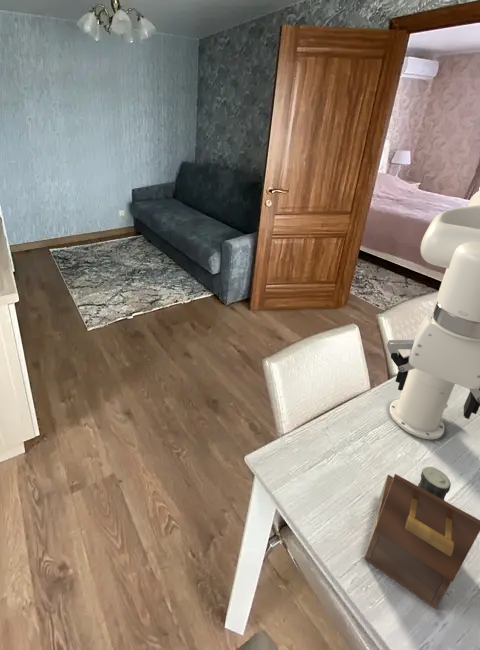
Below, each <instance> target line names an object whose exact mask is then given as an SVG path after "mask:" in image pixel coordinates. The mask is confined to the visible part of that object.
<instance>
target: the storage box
mask: <svg viewBox="0 0 480 650" xmlns="http://www.w3.org/2000/svg"><path fill="white" fill-rule="evenodd" d="M393 477H394V476H392V475H390V474H387V476H386V479H385V481H384V485H383V487H382V490H381V493H380V496H379V498H378V501H377V505H376V509H375V513H374V517H373V520H372V526H371V529H370V534H369V536H368V541H367V545H366V548H365V549H366V550H365V553H364V557H363V559H364V560H365V561H366V562H368V564H371V565H372V566H373V567H374V568H376V569H377V570H378V571H380V572H381V573H383V574H384V575H386V576H387V577H389V578H390V579H392V580H393V581H394V582H396V583H397V584H398V585H400V586H401V587H402V588H404V589H405V590H407V591H409V592H410V593H411V594H412V595H414V596H416V597H417V598H419V599H420V600H421V601H423V602H424V603H425V604H427V605H428V606H429V607H431V608H433V609H434V610H437V608H438V606H439V605H440V603H441V601H442V600H443V597H444V596H445V594H446V592H447V590H448V589H449V587H450V585H451V583H452V581H450V580H449V579H447V578H446V577H444V576H443V575H441V574H440V573H438V572H437V571H435V570H434V569H432V568H430V567H429V566H427V565H426V564H424V563H423V562H421V561H420V560H418V559H417V558H415V557H414V556H412V555H411V554H409V553H408V552H406V551H404V550H403V549H401V548H400V547H398V546H397V545H395V544H394V543H392V542H391V541H389V540H388V539H386V538H385V537H383V536H382V535H380V534H378V533H377V532H375V527H376V524H377V521H378V519H379V516H380V513H381V510H382V508H383V505H384V502H385V499H386V497H387V494H388V491H389V488H390V486H391V483H392V480H393Z"/></svg>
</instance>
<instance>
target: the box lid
mask: <svg viewBox="0 0 480 650" xmlns="http://www.w3.org/2000/svg"><path fill="white" fill-rule="evenodd" d="M392 477H393V480H392V483H391V486H390V488H389V491H388V494H387V497H386V499H385V502H384V505H383V508H382V510H381V513H380V516H379V519H378V521H377V524H376V527H375V532H377V533H378V534H380V535H382V536H383V537H385V538H386V539H388V540H389V541H391V542H392V543H394V544H395V545H397V546H398V547H400V548H401V549H403V550H404V551H406V552H408V553H409V554H411V555H412V556H414V557H415V558H417V559H418V560H420V561H421V562H423V563H424V564H426V565H427V566H429V567H430V568H432V569H434V570H435V571H437V572H438V573H440V574H441V575H443V576H444V577H446V578H447V579H449V580H450V581H451V583H453V582H454V580H455V578H456V576H457V574H458V573H459V571H460V569H461V567H462V565H463V564H464V561H465V560H466V558H467V556H468V555H469V553H470V550H471V549H472V546H473V544H474V543H475V542H476V539H477V537H478V536H479V534H480V519H479V518H477V517H475V516H473V515H472V514H469V513H468V512H465V511H464V510H462V509H460V508H459V507H457V506H455V505H453V504H451V503H449V502H447V501H446V500H445V499H444V500H442V499H440V498H438V497H437V496H435V495H433V494H431V493H429V492H428V491H426V490H424V489H422V488H420V487H418V485H417V484H414V483H413V482H411V481H409V480H407V479H406V478H404V477H403V476H400V475H398V474H397V473H394V475H393V476H392Z"/></svg>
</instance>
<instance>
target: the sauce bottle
mask: <svg viewBox="0 0 480 650" xmlns="http://www.w3.org/2000/svg"><path fill="white" fill-rule="evenodd" d="M451 485H452V484H451V481H450V479H449V477H448V476H447V475H446V474H445V473H444V472H443V471H442V470H440V469H438V468H436V467H433V466H425V467H423V468H422V471H421V472H420V479H419V482H418V485H417V486H418V487H420V488H422V489H424V490H426V491H428V492H429V493H431V494H433V495H435V496H437V497H438V498H440V499H442V500H444V501H445V498H446V496H447V494H448V493H449V492H450V490H451Z"/></svg>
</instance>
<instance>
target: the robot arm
mask: <svg viewBox="0 0 480 650" xmlns="http://www.w3.org/2000/svg"><path fill="white" fill-rule="evenodd" d="M420 255H421V258H422V259H423V260H424V261H425V262H426V263H428V264H430V265H432V266H437V267H441V268H444V269H445V272H444V273H443V274H444V275H443V278H442V280H441V283H440V286H439V290H438V293H437V295H436V296H437V297H436V302H435V307H434V310H433V311H429V312H428V313H427V314H426V315H425V316H424V318H423V319H422V321H421V323H420V324H419V326H418V329H417V331H416V333H415V337H414V339H389V340H388V341H387V343H386V347H387V349H388V352H389V354H390V359H391V360H392V361H393V363H394V364H395V366H396V367H397V374H396V378H395V381H394V382H395V383H398V387H397V390H398V391H400V392H401V393H400V397H399V398H397V399H394V400H393V401H392V402H391V403H390V405H389V408H388V409H389V415H390V417H391V418H392V419H393V421H394V422H395V423H396V424H397V426H399V427H400V428H401V429H403V430H404V431H405V432H407V433H409V434H411V435H412V436H415V437H417V438H420V439H424V440H432V441H433V440H438V439H440V438H441V437H443V436H444V432H445V424H444V422H443V420H442V416H443V414H444V412H445V410H446V409H448V407H449V406H448V402H449V399H450V397H451V394H452V392H453V389H454V387H455V385H457V386H460V387H463V388H466V389H469V393H468V395H467V398H466V400H465V402H464V404H463V417H464V418H465V419H466V420H470V418H471V416H472V414H474V415H477V414H478V411H479V409H480V190H478V191H476V192H475V193H474V194H473V195H472V196H471V197H470V199H469V201H468V203H467V206H465V207H463V206H462V207H458V208H451V209H446V210H443V211H441V212H440V213H438V214H437V215H436V216H435V217H434V218H433V219H432V221H431V222H430V223H429V225H428V227H427V229H426V231H425V233H424V235H423V237H422V240H421V242H420ZM399 350H409V351H410V352H409V355H406V356H403V355H402V354H401V352H400V351H399Z"/></svg>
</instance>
